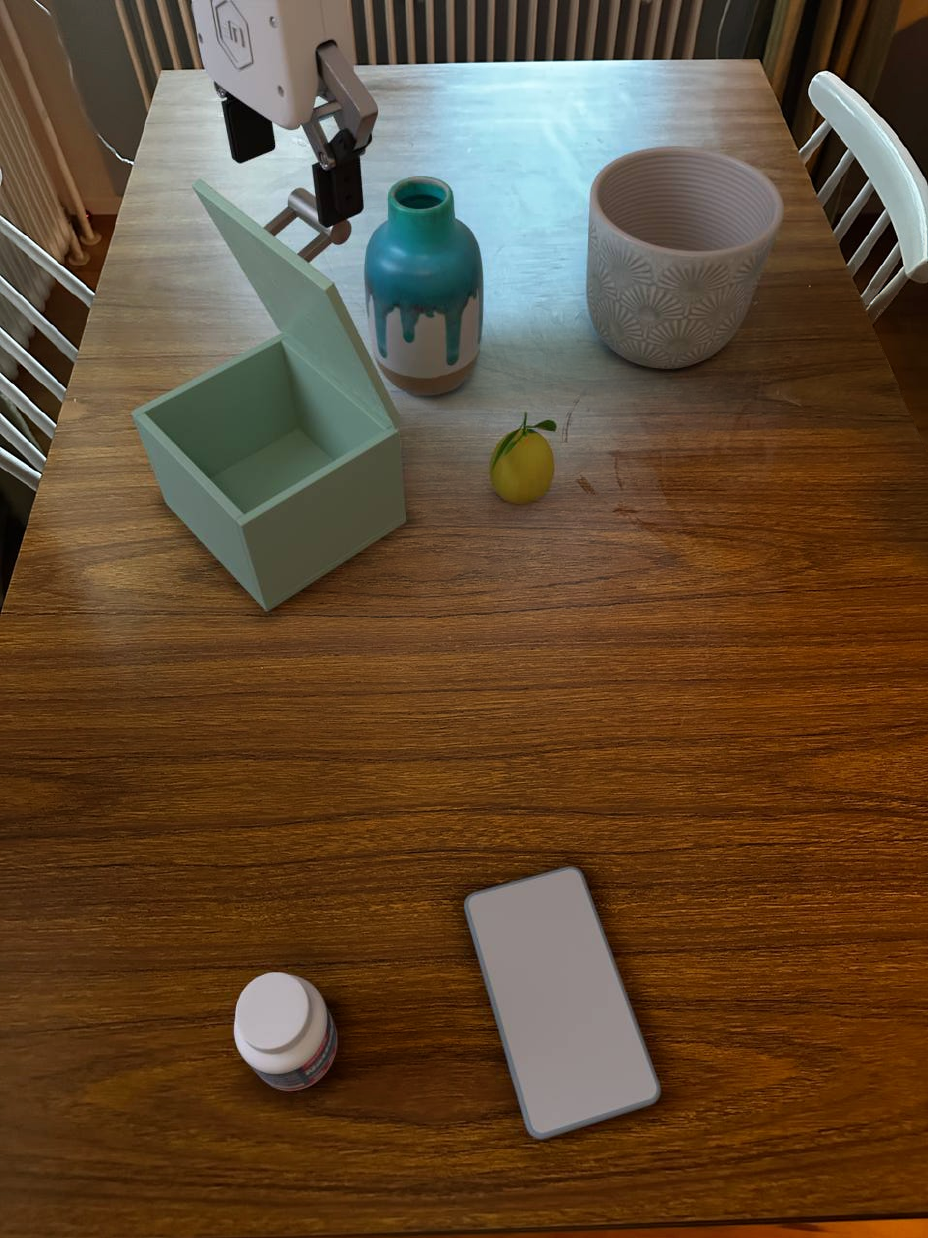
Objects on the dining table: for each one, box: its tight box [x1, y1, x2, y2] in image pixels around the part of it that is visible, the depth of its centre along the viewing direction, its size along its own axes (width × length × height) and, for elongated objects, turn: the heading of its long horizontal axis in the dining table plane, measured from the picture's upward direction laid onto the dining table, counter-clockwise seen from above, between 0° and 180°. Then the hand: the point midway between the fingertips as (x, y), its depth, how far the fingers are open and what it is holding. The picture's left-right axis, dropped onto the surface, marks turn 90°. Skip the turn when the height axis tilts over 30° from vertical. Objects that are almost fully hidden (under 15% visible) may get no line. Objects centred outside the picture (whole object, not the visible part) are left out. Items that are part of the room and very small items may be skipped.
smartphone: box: [463, 865, 661, 1141], centre depth 60 cm, size 8×1×15 cm
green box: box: [130, 332, 407, 613], centre depth 79 cm, size 15×16×11 cm
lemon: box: [488, 411, 558, 505], centre depth 80 cm, size 7×6×10 cm
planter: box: [585, 145, 785, 370], centre depth 90 cm, size 17×17×15 cm
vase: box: [363, 175, 485, 396], centre depth 85 cm, size 11×11×19 cm
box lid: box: [191, 178, 403, 429], centre depth 70 cm, size 15×16×6 cm
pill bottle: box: [233, 971, 338, 1092], centre depth 55 cm, size 5×5×9 cm
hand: (296, 185), depth 62 cm, fingers open, 9 cm apart
